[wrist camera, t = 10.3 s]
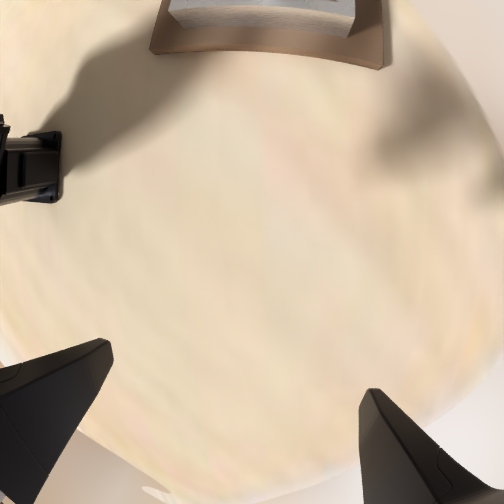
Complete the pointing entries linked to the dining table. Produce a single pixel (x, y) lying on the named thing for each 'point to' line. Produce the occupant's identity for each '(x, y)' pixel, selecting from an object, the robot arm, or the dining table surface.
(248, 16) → the light gray square frame
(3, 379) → the robot arm
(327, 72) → the dining table surface
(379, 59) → the square wooden tray
